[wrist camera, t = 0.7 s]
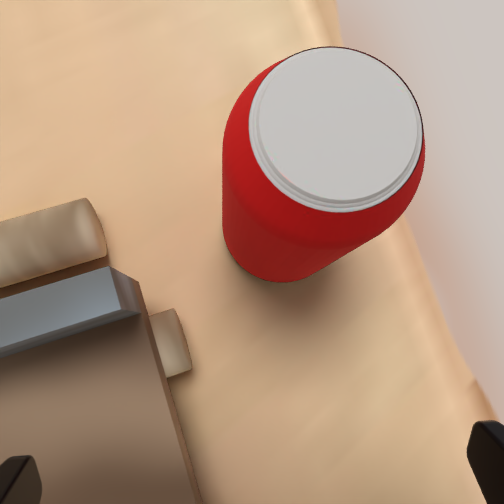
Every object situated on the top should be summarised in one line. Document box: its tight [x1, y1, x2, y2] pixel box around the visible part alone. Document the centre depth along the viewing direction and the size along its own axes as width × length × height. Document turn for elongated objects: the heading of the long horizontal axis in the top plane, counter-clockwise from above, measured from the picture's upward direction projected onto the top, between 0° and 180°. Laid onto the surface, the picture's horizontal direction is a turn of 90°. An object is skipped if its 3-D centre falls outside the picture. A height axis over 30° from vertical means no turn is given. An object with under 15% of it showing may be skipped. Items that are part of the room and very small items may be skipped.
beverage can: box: [222, 46, 425, 282], centre depth 17 cm, size 6×6×12 cm
